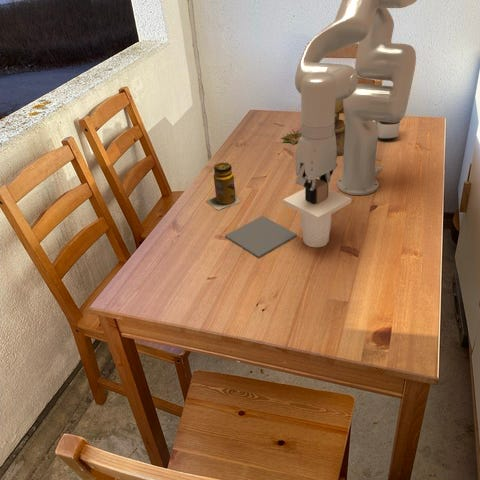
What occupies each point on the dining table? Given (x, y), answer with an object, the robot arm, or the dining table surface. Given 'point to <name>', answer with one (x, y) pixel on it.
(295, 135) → the green leafy plant
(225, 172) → the condiment
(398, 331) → the dining table surface
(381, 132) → the spread jar
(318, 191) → the lid
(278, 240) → the grey flat square slab
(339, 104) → the brass finial ornament
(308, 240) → the white cup
